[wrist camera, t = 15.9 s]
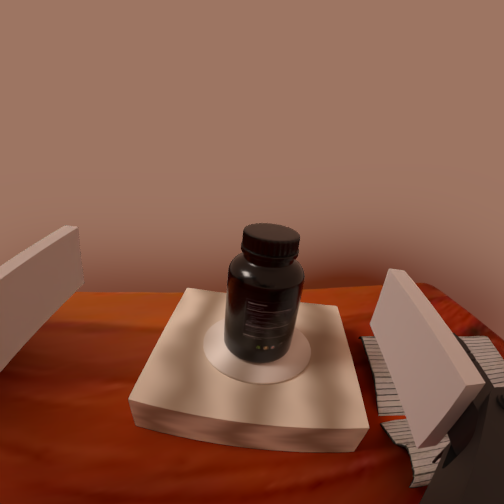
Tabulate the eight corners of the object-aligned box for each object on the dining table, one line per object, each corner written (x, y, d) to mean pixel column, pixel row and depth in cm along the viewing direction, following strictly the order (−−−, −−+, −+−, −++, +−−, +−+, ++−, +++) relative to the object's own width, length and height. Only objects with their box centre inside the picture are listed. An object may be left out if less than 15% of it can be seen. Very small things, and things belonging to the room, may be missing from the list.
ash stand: (135, 425, 23) (127, 396, 21) (187, 312, 42) (187, 285, 40) (353, 451, 22) (370, 425, 21) (330, 330, 41) (337, 304, 39)
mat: (477, 346, 38) (489, 322, 36) (541, 451, 16) (563, 425, 14) (354, 344, 39) (364, 316, 37) (392, 500, 17) (418, 477, 15)
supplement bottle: (220, 324, 33) (228, 217, 28) (280, 324, 34) (298, 221, 30) (226, 367, 26) (237, 243, 22) (297, 364, 28) (324, 247, 23)
